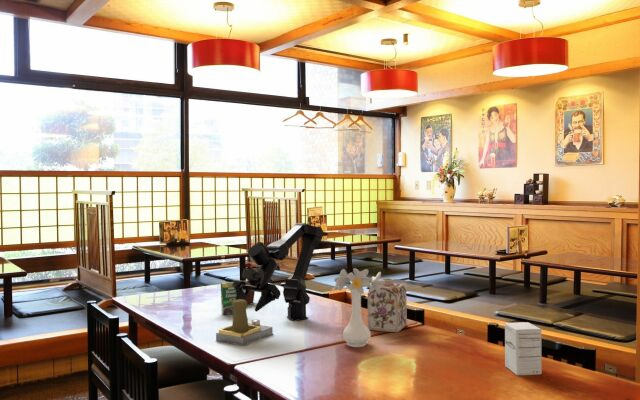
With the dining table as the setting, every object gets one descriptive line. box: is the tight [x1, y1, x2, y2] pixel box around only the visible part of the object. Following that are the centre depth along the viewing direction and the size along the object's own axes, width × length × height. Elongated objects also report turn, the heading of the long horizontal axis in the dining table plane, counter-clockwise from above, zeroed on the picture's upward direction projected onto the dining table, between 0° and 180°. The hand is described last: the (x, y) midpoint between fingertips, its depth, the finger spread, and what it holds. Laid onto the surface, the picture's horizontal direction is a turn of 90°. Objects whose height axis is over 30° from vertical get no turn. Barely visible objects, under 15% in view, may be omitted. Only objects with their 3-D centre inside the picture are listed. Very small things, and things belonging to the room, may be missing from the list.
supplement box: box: [504, 321, 542, 376], centre depth 146 cm, size 7×7×13 cm
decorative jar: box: [367, 277, 408, 333], centre depth 194 cm, size 12×12×18 cm
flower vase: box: [331, 267, 385, 348], centre depth 174 cm, size 13×18×25 cm
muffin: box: [243, 280, 255, 306], centre depth 240 cm, size 12×11×10 cm
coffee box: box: [220, 281, 236, 316], centre depth 220 cm, size 8×3×13 cm, turn 113°
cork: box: [231, 299, 249, 333], centre depth 182 cm, size 6×6×11 cm
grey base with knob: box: [215, 319, 274, 346], centre depth 184 cm, size 16×12×4 cm
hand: (245, 309), depth 184 cm, fingers open, 9 cm apart
